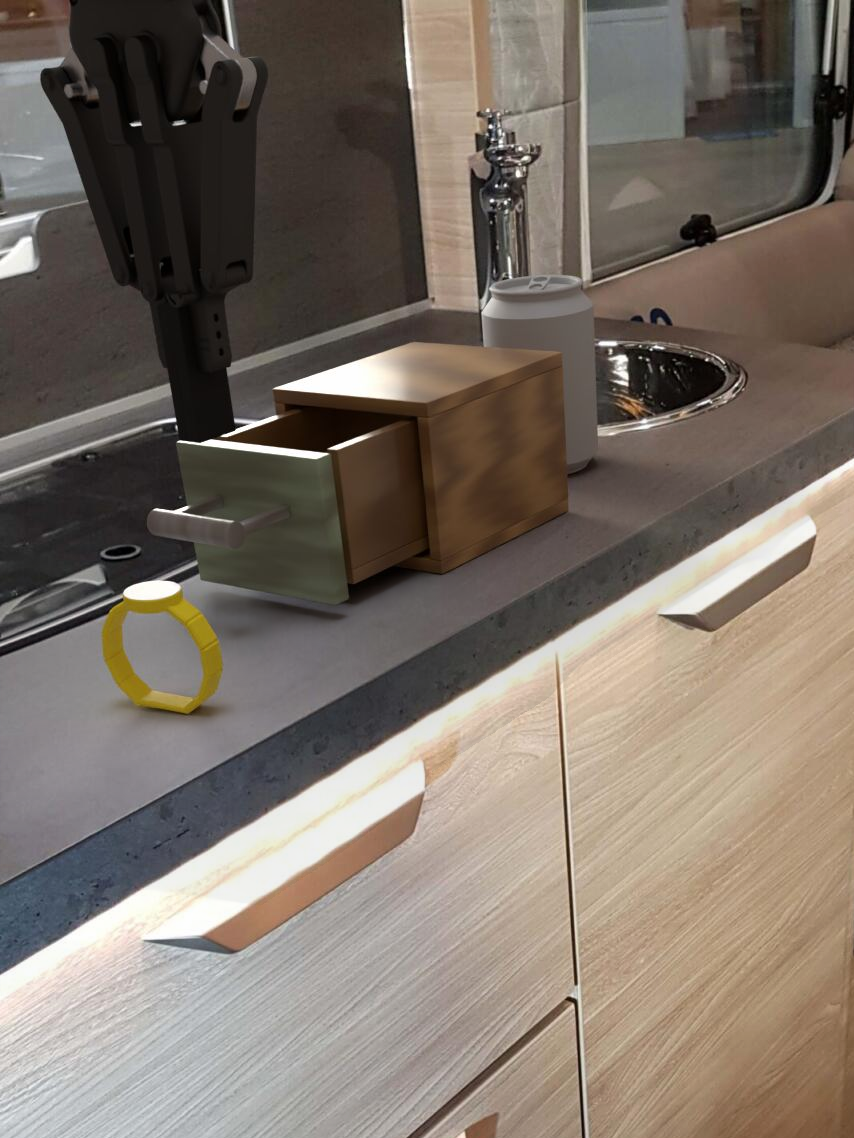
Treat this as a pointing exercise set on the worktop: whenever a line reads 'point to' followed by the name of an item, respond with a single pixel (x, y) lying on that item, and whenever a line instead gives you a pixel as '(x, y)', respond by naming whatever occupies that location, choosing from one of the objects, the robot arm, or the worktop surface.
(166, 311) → the robot arm
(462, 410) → the cabinet
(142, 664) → the worktop surface
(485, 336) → the can
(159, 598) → the watch
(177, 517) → the drawer
